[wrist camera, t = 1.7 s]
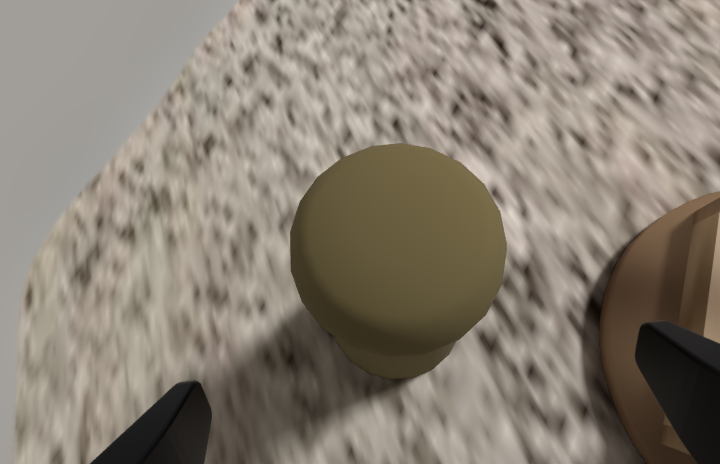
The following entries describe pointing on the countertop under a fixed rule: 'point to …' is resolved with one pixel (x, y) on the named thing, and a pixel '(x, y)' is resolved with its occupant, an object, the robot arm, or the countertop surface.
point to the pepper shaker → (397, 256)
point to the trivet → (660, 314)
